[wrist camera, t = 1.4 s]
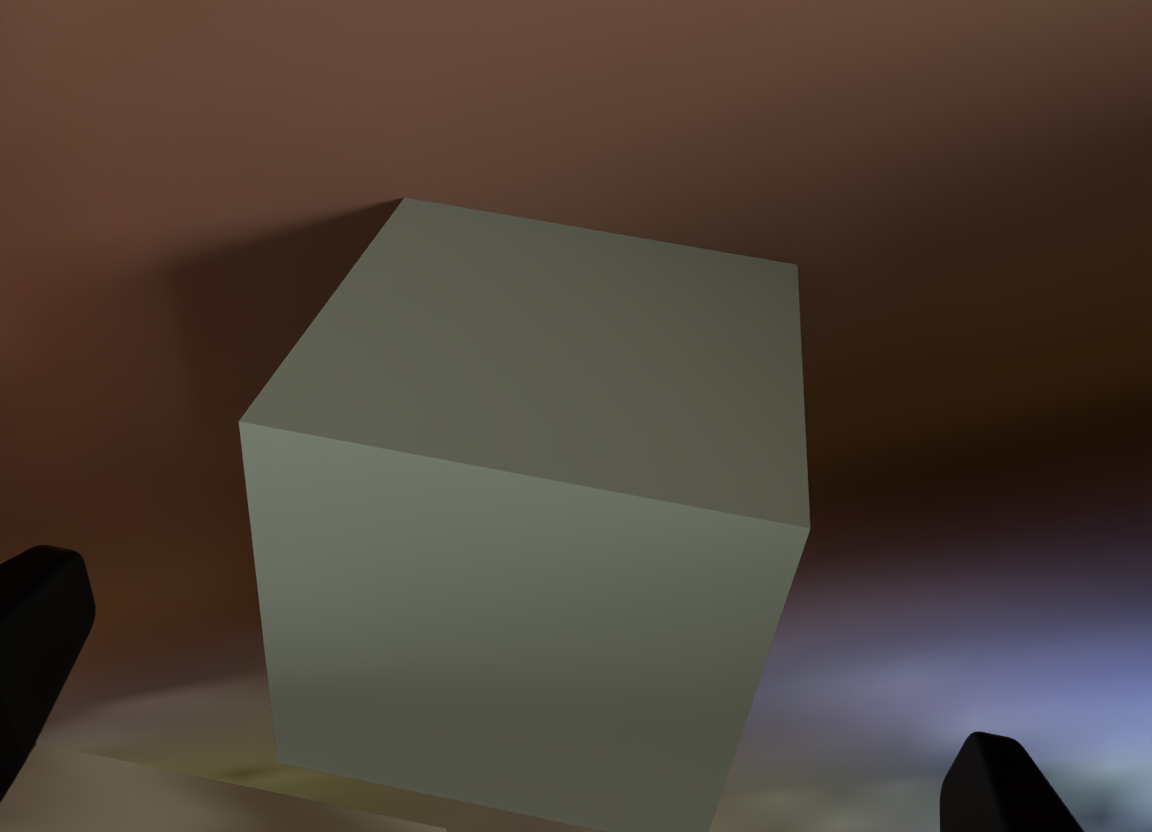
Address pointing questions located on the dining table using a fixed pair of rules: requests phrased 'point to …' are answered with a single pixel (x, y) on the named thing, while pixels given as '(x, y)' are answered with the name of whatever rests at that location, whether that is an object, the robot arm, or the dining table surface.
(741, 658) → the sage cube
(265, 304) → the dining table surface
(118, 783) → the oak base block
